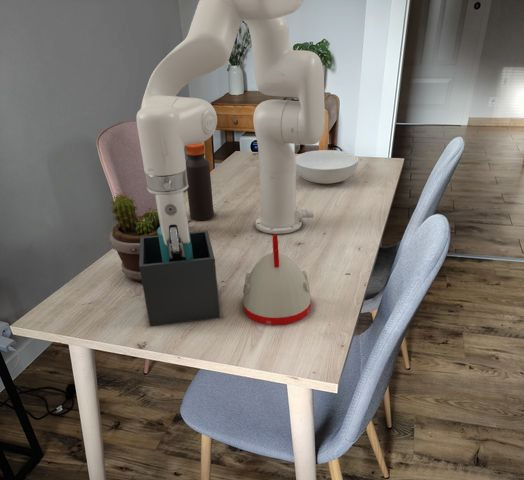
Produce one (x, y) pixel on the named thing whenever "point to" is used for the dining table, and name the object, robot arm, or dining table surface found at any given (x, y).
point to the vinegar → (199, 183)
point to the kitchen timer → (276, 290)
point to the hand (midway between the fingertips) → (179, 268)
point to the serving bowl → (326, 166)
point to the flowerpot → (131, 233)
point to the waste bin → (179, 282)
